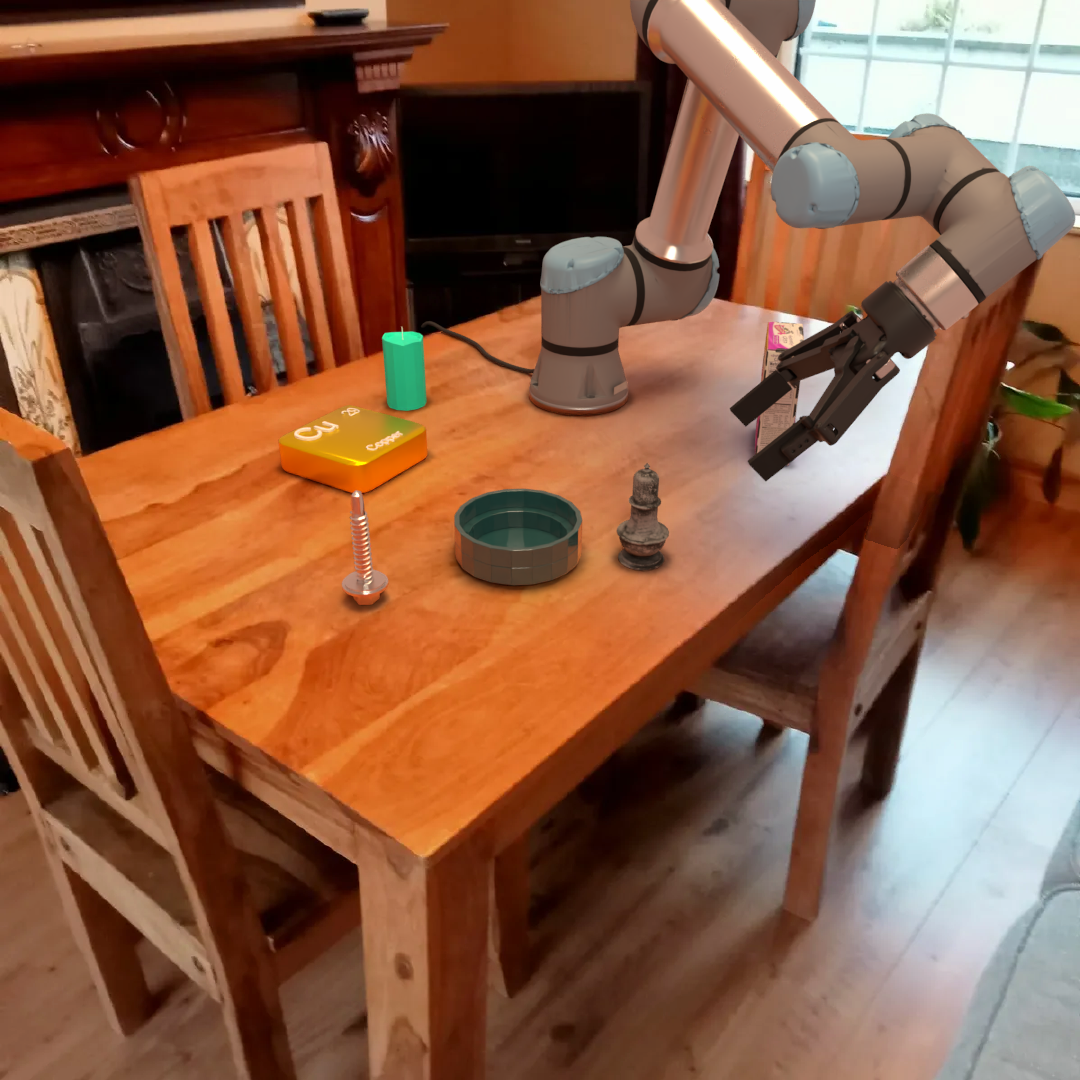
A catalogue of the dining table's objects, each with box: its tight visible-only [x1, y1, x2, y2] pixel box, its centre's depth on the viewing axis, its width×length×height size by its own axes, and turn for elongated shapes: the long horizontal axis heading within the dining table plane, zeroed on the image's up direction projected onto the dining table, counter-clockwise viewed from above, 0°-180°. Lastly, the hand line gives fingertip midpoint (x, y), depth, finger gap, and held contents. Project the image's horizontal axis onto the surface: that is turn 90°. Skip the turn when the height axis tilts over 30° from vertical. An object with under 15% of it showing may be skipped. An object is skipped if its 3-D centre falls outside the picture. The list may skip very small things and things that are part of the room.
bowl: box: [453, 488, 583, 586], centre depth 114 cm, size 14×14×5 cm
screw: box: [341, 490, 389, 606], centre depth 104 cm, size 13×5×5 cm
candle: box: [381, 326, 428, 412], centre depth 151 cm, size 6×6×12 cm
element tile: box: [277, 404, 429, 494], centre depth 135 cm, size 15×15×5 cm
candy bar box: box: [754, 321, 805, 467], centre depth 136 cm, size 11×5×16 cm, turn 168°
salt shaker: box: [616, 462, 670, 571], centre depth 112 cm, size 6×6×12 cm
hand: (746, 443), depth 107 cm, fingers open, 13 cm apart
